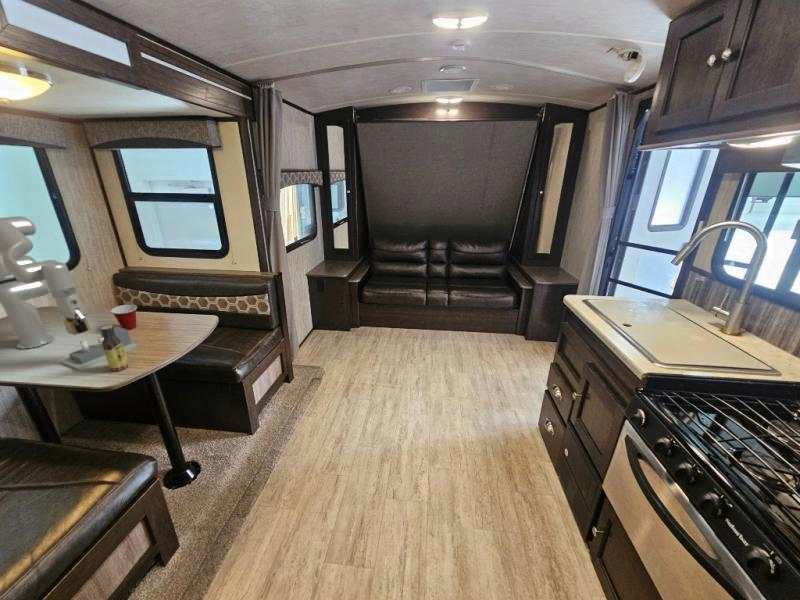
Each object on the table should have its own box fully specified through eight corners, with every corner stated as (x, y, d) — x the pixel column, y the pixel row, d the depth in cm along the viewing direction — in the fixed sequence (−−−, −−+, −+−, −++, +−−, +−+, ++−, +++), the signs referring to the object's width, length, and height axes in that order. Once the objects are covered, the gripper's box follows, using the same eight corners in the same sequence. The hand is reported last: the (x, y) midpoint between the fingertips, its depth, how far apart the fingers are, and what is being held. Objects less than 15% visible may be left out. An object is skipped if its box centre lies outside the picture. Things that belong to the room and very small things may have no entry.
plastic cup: (125, 334, 171) (118, 313, 166) (112, 330, 174) (105, 310, 170) (147, 325, 180) (141, 306, 176) (134, 322, 184) (128, 302, 179)
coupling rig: (61, 363, 145) (54, 345, 142) (119, 340, 165) (114, 324, 161) (79, 370, 140) (72, 352, 137) (137, 346, 160) (132, 330, 156)
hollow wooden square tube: (83, 327, 146) (78, 315, 144) (90, 329, 144) (85, 317, 142) (67, 332, 141) (62, 320, 139) (74, 335, 139) (69, 322, 137)
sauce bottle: (125, 371, 141) (111, 330, 133) (108, 373, 139) (92, 331, 132) (132, 362, 146) (118, 323, 139) (115, 364, 145) (101, 324, 137)
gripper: (86, 292, 136) (100, 330, 143) (64, 286, 142) (78, 323, 149) (63, 298, 130) (79, 338, 137) (41, 292, 136) (57, 330, 143)
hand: (79, 330), depth 143 cm, fingers closed on hollow wooden square tube, 5 cm apart
